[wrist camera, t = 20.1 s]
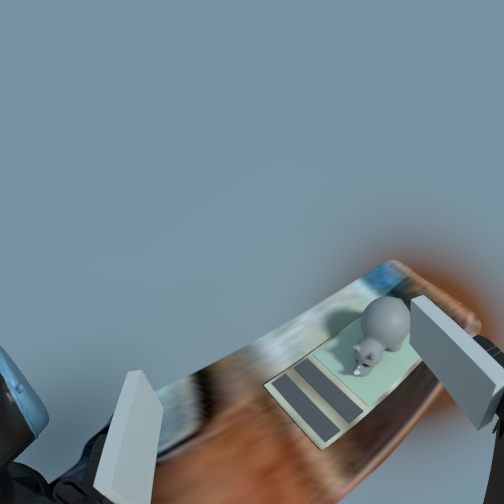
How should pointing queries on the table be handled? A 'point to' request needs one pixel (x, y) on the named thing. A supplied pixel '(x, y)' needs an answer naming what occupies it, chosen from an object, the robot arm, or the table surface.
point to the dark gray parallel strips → (308, 408)
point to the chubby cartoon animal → (380, 332)
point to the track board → (321, 402)
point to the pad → (383, 374)
